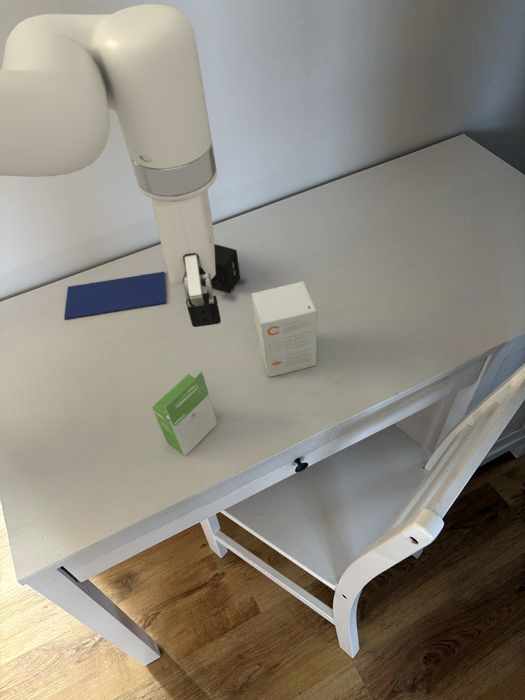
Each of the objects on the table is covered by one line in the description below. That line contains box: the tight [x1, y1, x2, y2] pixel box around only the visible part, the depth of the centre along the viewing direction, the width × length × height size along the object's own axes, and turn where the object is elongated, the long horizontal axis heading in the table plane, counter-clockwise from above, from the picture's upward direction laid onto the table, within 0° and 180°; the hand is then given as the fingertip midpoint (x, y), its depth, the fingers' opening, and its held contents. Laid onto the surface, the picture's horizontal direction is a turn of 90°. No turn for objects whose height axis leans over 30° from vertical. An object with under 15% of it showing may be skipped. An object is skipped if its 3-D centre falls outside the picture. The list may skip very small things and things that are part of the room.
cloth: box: [63, 271, 167, 321], centre depth 97 cm, size 18×8×1 cm, turn 98°
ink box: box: [151, 370, 218, 457], centre depth 73 cm, size 7×4×13 cm, turn 139°
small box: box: [251, 280, 318, 378], centre depth 81 cm, size 8×6×13 cm
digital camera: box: [199, 243, 241, 294], centre depth 95 cm, size 10×5×7 cm, turn 65°
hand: (204, 292), depth 63 cm, fingers open, 9 cm apart
